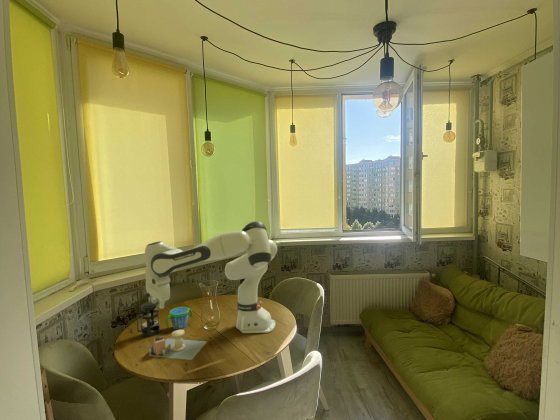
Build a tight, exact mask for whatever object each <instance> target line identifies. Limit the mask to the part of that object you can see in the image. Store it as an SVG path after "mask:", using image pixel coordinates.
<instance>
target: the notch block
mask: <svg viewBox="0 0 560 420" xmlns="http://www.w3.org/2000/svg"><path fill="white" fill-rule="evenodd" d="M170 350H171V344H168V345H167V346H166V347H165V348H164V349H163V353H162V354H159V356H165V355H166V354H167V353H168V352H169V351H170ZM148 352H149V353H148V355H156V354H155V352H154V344H152V345H151V346H150V347H149V348H148Z"/></svg>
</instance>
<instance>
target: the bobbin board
mask: <svg viewBox="0 0 560 420" xmlns="http://www.w3.org/2000/svg"><path fill="white" fill-rule="evenodd" d="M185 333H186V332H185V330H184V329H179V330H173V331H172V332H171V337H172V338H168V337H167V338H166V339H165V347H166V346H167V345H168V344H171V350H170V351H169V352H168V353H167V354H166V355H165V356H159V355H149V354H148V355H147V356H148V357H154V358H155V357H156V358H165V359H166V358H167V359H168V358H170V359H176V360H178V359H179V360H188V361H192V360H193V359H194V358H195V357H196V356H197V354H199V352H200V351H201V350H202V349H203V347H204V346H205V345H206V344H207V343H208V341H205V340H193V339H184V338H183V336H184V335H185Z"/></svg>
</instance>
